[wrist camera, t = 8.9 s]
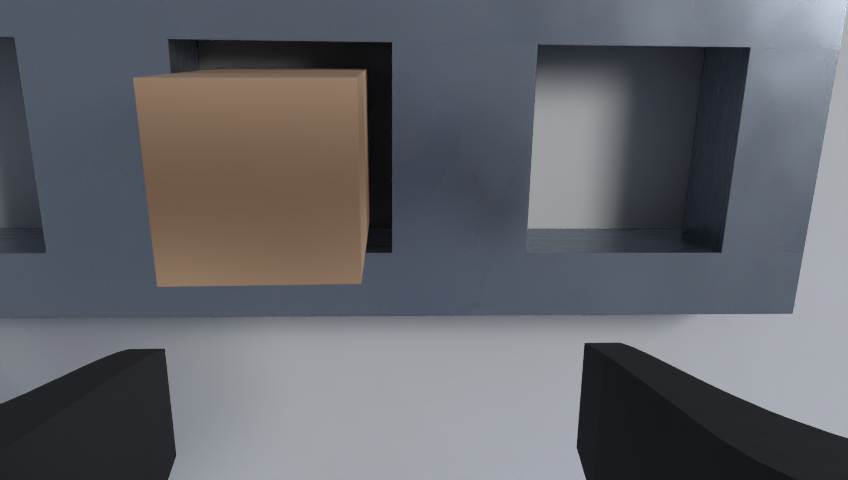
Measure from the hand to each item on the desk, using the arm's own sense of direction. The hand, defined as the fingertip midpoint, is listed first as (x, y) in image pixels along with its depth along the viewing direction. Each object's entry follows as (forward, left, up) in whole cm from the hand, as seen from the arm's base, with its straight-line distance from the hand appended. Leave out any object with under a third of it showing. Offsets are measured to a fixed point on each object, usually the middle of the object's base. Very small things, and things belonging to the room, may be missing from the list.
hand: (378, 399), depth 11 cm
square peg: (+3, +2, -9) cm, 10 cm away
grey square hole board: (+3, +3, -9) cm, 10 cm away
